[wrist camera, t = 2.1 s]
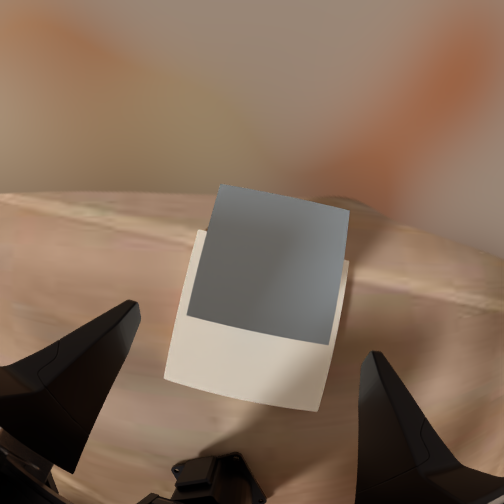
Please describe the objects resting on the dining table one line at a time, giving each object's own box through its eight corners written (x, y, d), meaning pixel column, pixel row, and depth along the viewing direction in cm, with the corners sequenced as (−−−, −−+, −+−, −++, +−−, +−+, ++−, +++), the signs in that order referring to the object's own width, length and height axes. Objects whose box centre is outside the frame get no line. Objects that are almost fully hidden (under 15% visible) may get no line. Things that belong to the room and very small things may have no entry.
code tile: (315, 407, 19) (317, 412, 18) (167, 376, 20) (163, 378, 19) (345, 263, 22) (349, 260, 21) (200, 233, 23) (198, 229, 22)
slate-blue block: (291, 330, 20) (328, 345, 9) (224, 316, 20) (186, 315, 9) (304, 264, 21) (349, 210, 10) (238, 250, 21) (220, 183, 10)
